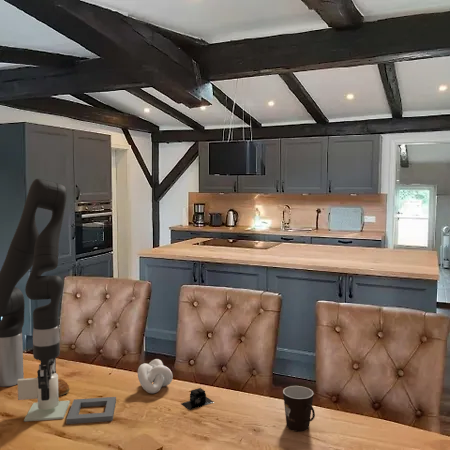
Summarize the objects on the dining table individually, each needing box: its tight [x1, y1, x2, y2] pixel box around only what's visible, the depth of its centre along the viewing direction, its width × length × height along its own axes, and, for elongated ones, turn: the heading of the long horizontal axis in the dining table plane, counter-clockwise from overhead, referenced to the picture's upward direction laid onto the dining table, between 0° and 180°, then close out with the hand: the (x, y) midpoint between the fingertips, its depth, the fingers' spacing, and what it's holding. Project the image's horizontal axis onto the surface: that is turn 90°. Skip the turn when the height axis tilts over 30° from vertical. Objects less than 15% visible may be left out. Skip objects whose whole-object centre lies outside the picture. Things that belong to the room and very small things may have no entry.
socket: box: [65, 396, 117, 425], centre depth 143 cm, size 13×13×2 cm
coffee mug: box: [282, 385, 316, 433], centre depth 132 cm, size 12×9×10 cm
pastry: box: [58, 377, 71, 396], centre depth 158 cm, size 9×7×4 cm
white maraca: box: [17, 372, 60, 410], centre depth 142 cm, size 12×6×9 cm, turn 99°
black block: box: [180, 387, 215, 411], centre depth 149 cm, size 12×7×5 cm, turn 125°
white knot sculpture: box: [137, 358, 173, 394], centre depth 159 cm, size 11×12×9 cm
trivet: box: [23, 400, 71, 422], centre depth 143 cm, size 11×11×1 cm
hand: (47, 394), depth 143 cm, fingers closed on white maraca, 6 cm apart
